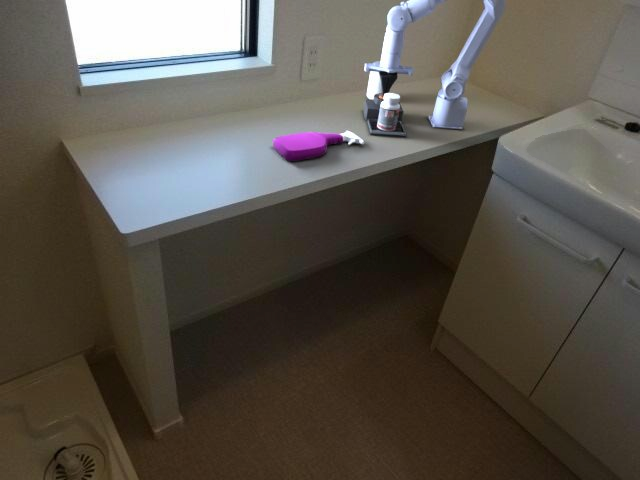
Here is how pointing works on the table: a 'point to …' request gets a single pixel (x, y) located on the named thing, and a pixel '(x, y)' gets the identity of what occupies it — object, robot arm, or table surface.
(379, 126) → the pill bottle
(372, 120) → the drip tray
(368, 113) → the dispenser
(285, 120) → the table surface
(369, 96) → the can
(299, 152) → the spray bottle
